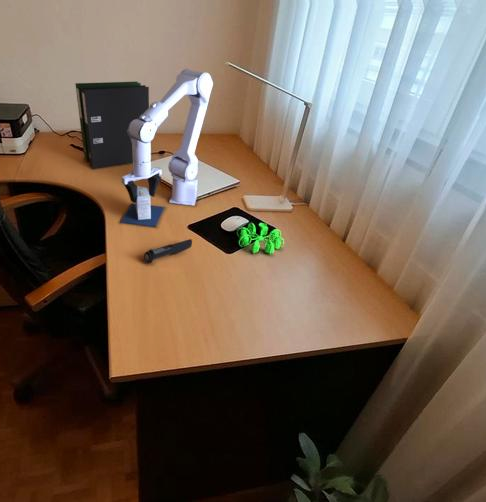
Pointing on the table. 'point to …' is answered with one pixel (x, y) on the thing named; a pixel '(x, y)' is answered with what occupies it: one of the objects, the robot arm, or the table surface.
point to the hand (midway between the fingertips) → (142, 198)
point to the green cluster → (260, 238)
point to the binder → (109, 120)
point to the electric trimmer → (166, 250)
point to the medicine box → (143, 203)
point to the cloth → (133, 219)
